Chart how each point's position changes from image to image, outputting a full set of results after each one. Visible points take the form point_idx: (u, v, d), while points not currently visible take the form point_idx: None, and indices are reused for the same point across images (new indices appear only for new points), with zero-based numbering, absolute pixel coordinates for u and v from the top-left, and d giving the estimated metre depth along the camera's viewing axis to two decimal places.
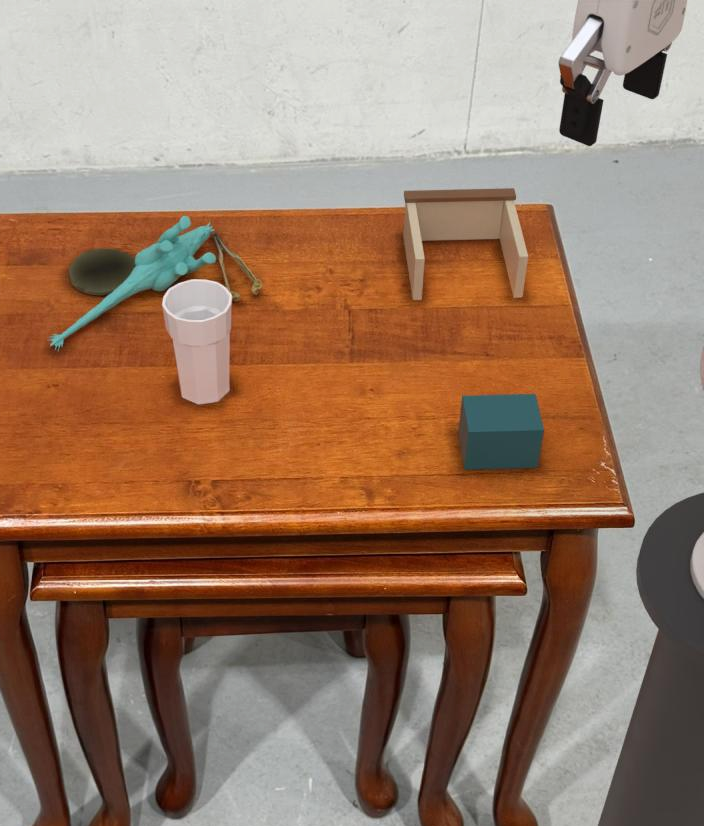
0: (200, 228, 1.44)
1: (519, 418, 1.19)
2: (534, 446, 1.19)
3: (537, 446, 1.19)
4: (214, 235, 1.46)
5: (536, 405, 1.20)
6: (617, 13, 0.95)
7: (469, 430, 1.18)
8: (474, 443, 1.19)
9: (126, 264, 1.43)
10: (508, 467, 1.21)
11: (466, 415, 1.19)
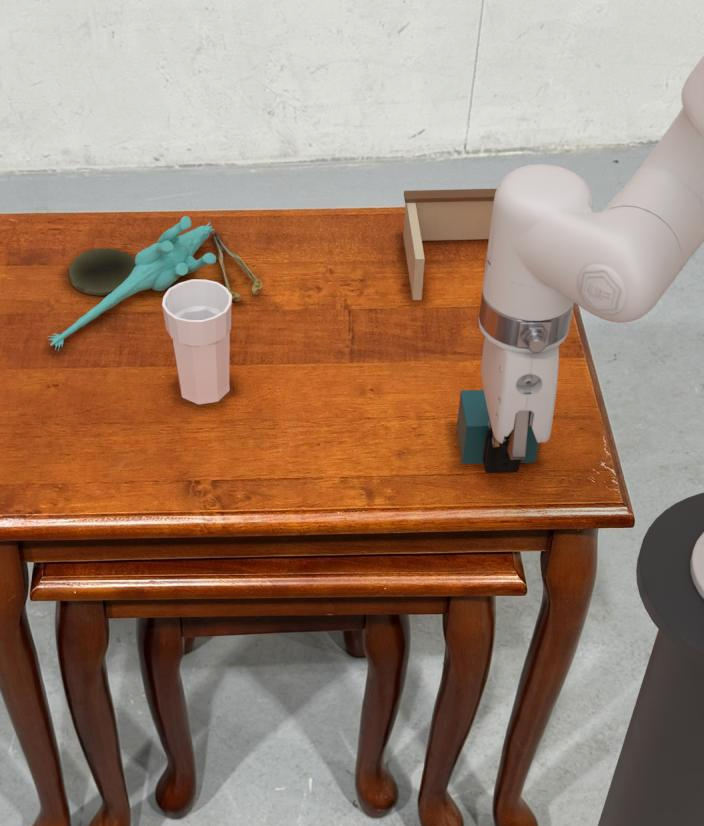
0: (200, 228, 1.44)
1: None
2: (532, 441, 1.20)
3: (535, 441, 1.20)
4: (214, 235, 1.46)
5: None
6: (545, 404, 1.07)
7: (467, 425, 1.18)
8: (472, 437, 1.19)
9: (126, 264, 1.43)
10: None
11: (464, 410, 1.20)
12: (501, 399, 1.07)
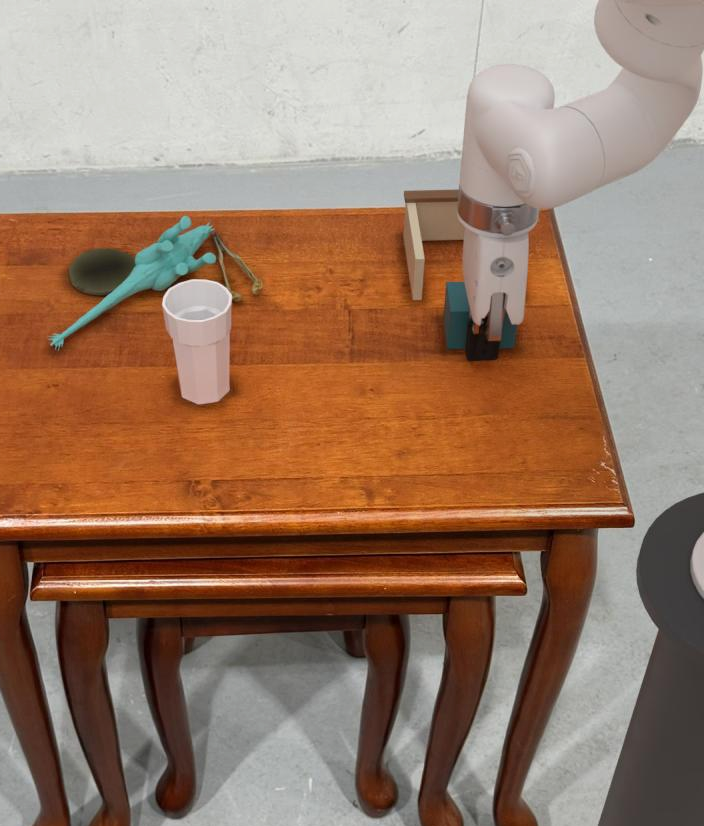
0: (200, 228, 1.44)
1: None
2: (510, 327, 1.32)
3: (513, 327, 1.32)
4: (214, 235, 1.46)
5: None
6: (517, 286, 1.19)
7: (451, 310, 1.30)
8: (456, 322, 1.31)
9: (126, 264, 1.43)
10: None
11: (449, 298, 1.32)
12: (477, 282, 1.19)
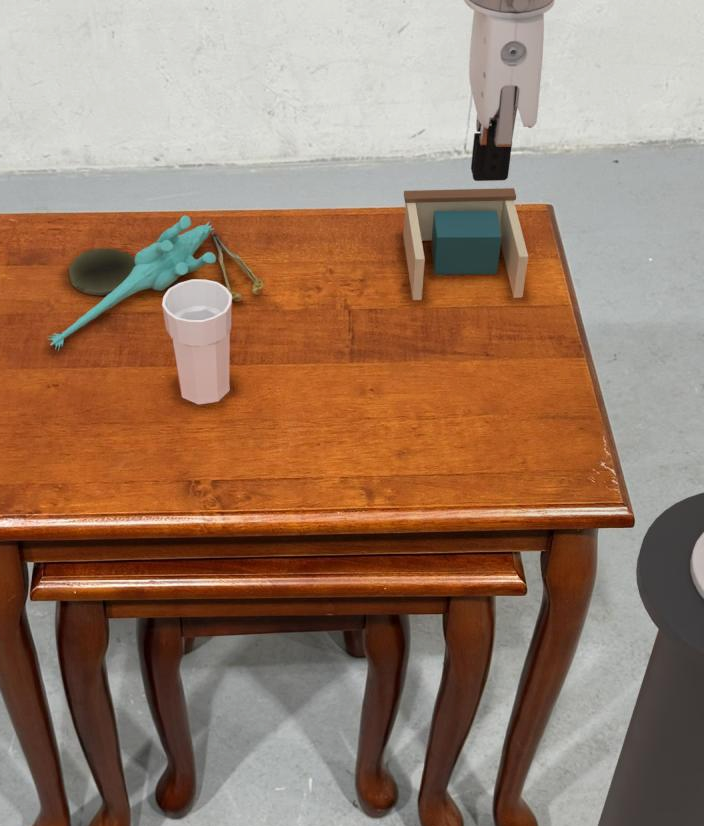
0: (199, 227, 1.44)
1: (481, 228, 1.40)
2: (493, 253, 1.41)
3: (496, 253, 1.41)
4: (213, 235, 1.46)
5: (496, 219, 1.41)
6: (531, 77, 1.06)
7: (438, 236, 1.39)
8: (442, 248, 1.40)
9: (126, 264, 1.43)
10: (472, 273, 1.43)
11: (436, 225, 1.41)
12: (486, 73, 1.06)
